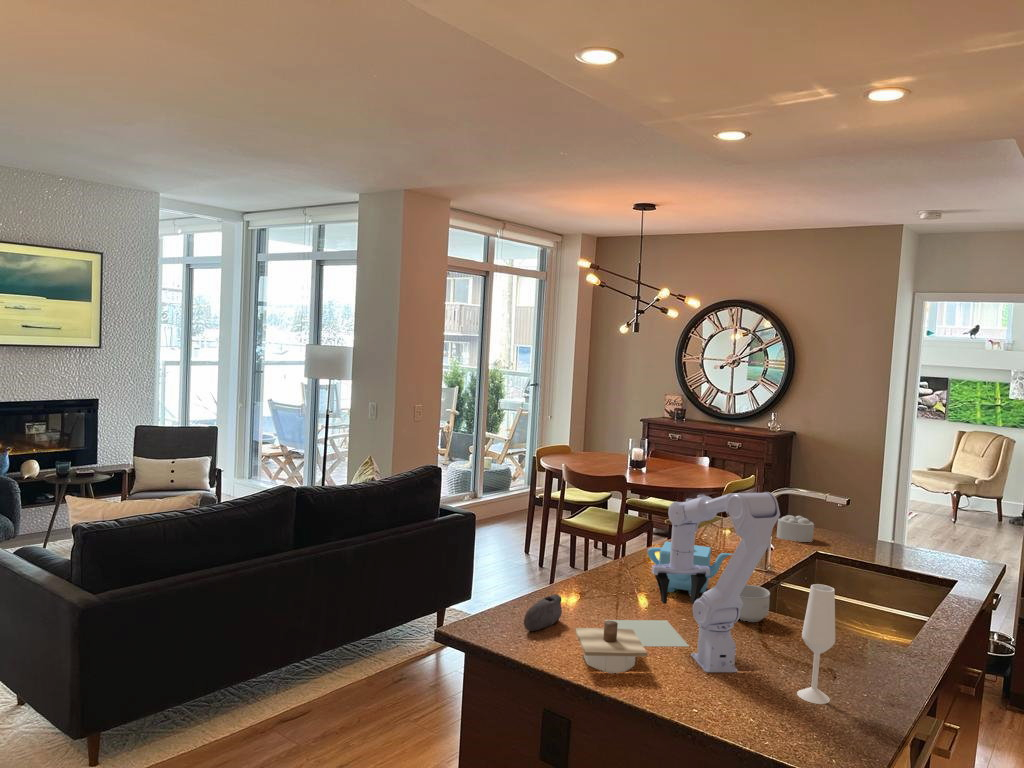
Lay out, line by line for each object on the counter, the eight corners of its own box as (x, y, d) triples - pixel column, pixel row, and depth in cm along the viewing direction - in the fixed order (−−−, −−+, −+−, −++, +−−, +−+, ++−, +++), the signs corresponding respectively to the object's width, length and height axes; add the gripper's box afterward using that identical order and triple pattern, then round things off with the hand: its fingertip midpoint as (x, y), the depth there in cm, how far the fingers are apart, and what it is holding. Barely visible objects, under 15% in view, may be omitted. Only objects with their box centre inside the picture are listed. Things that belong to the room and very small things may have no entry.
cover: (647, 656, 173) (648, 635, 173) (585, 655, 172) (586, 634, 172) (632, 632, 187) (633, 612, 187) (574, 630, 186) (575, 611, 186)
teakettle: (640, 583, 240) (643, 536, 239) (688, 577, 248) (691, 531, 247) (679, 604, 223) (683, 553, 222) (730, 597, 231) (733, 548, 230)
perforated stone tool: (531, 637, 192) (533, 610, 192) (515, 631, 196) (516, 604, 195) (566, 622, 204) (568, 596, 204) (550, 616, 207) (552, 591, 207)
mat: (689, 647, 191) (689, 646, 191) (622, 647, 189) (622, 646, 189) (666, 621, 208) (666, 620, 208) (604, 621, 206) (604, 619, 206)
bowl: (638, 673, 175) (640, 653, 175) (591, 673, 174) (592, 653, 173) (625, 653, 186) (626, 634, 186) (580, 653, 184) (581, 634, 184)
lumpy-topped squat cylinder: (784, 533, 314) (785, 512, 313) (816, 540, 305) (818, 518, 305) (774, 537, 306) (775, 516, 305) (807, 545, 297) (809, 522, 297)
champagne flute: (799, 701, 166) (809, 591, 164) (794, 687, 172) (803, 581, 171) (833, 705, 164) (843, 594, 163) (826, 691, 171) (835, 584, 169)
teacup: (770, 628, 208) (772, 598, 207) (728, 622, 210) (730, 593, 209) (764, 610, 221) (766, 582, 221) (724, 605, 224) (726, 578, 223)
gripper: (704, 545, 200) (700, 597, 201) (649, 544, 198) (645, 596, 199) (714, 553, 193) (710, 607, 194) (658, 552, 191) (654, 606, 192)
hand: (678, 602), depth 196 cm, fingers open, 7 cm apart
